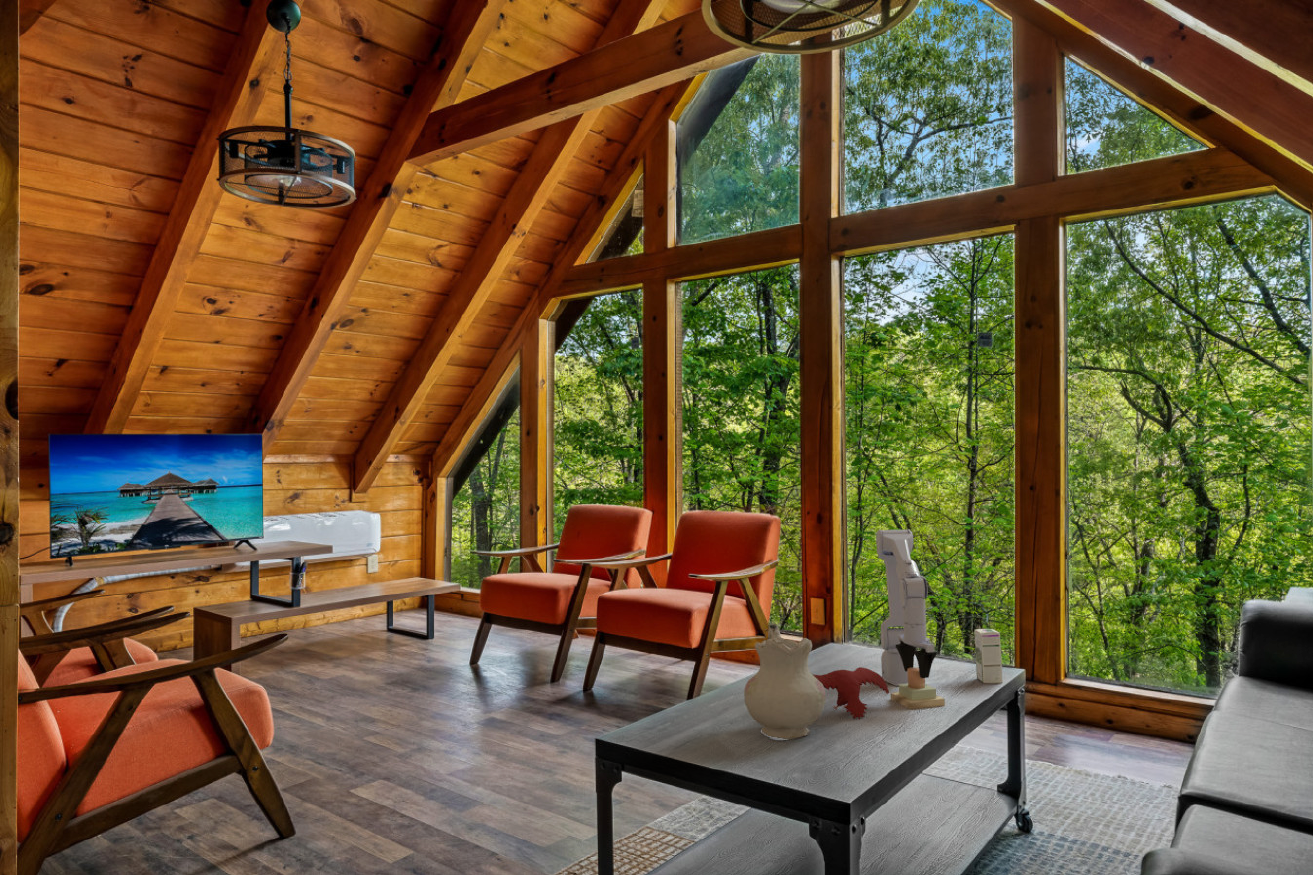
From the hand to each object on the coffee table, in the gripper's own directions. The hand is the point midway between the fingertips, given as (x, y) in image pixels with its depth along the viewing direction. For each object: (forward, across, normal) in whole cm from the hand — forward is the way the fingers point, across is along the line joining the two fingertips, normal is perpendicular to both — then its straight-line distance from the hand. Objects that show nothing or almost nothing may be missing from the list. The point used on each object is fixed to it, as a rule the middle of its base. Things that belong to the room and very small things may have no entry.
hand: (916, 674), depth 229 cm
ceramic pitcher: (+8, -10, +43) cm, 45 cm away
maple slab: (+8, 0, 0) cm, 8 cm away
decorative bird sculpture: (+8, -2, +22) cm, 23 cm away
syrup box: (+8, +12, -31) cm, 34 cm away
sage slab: (+6, 0, 0) cm, 6 cm away
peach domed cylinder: (+3, 0, 0) cm, 3 cm away
